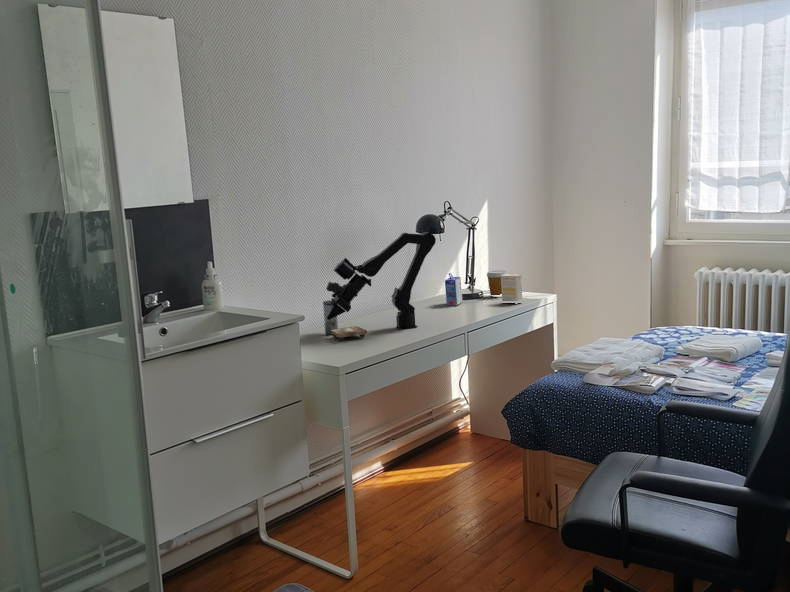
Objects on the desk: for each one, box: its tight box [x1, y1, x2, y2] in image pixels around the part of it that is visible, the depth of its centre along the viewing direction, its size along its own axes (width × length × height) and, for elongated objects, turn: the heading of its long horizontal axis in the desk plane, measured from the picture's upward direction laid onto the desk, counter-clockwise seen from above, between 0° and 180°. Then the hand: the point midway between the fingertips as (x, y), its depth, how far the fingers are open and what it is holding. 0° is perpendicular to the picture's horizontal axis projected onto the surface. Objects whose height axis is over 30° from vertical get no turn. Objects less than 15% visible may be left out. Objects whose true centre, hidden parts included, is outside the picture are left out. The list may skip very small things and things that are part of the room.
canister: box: [322, 299, 339, 336], centre depth 295 cm, size 5×5×13 cm
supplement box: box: [501, 273, 523, 301], centre depth 340 cm, size 8×5×13 cm, turn 49°
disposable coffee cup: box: [486, 270, 507, 296], centre depth 361 cm, size 10×10×12 cm
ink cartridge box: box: [444, 272, 463, 306], centre depth 347 cm, size 10×6×14 cm, turn 161°
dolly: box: [330, 325, 368, 342], centre depth 286 cm, size 11×11×3 cm
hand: (327, 317), depth 294 cm, fingers closed on canister, 5 cm apart
